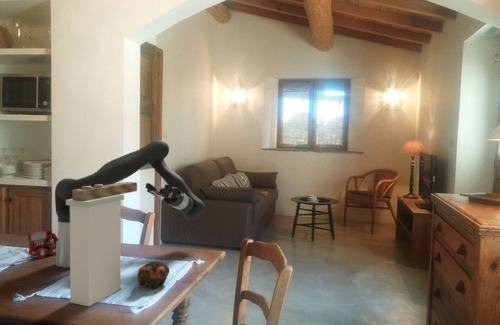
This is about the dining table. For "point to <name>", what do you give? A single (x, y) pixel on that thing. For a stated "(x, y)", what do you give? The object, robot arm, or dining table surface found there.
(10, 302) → the dining table surface
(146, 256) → the dining table surface
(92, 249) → the pillar
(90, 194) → the beam
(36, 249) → the toy fire truck
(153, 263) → the decorative turtle
